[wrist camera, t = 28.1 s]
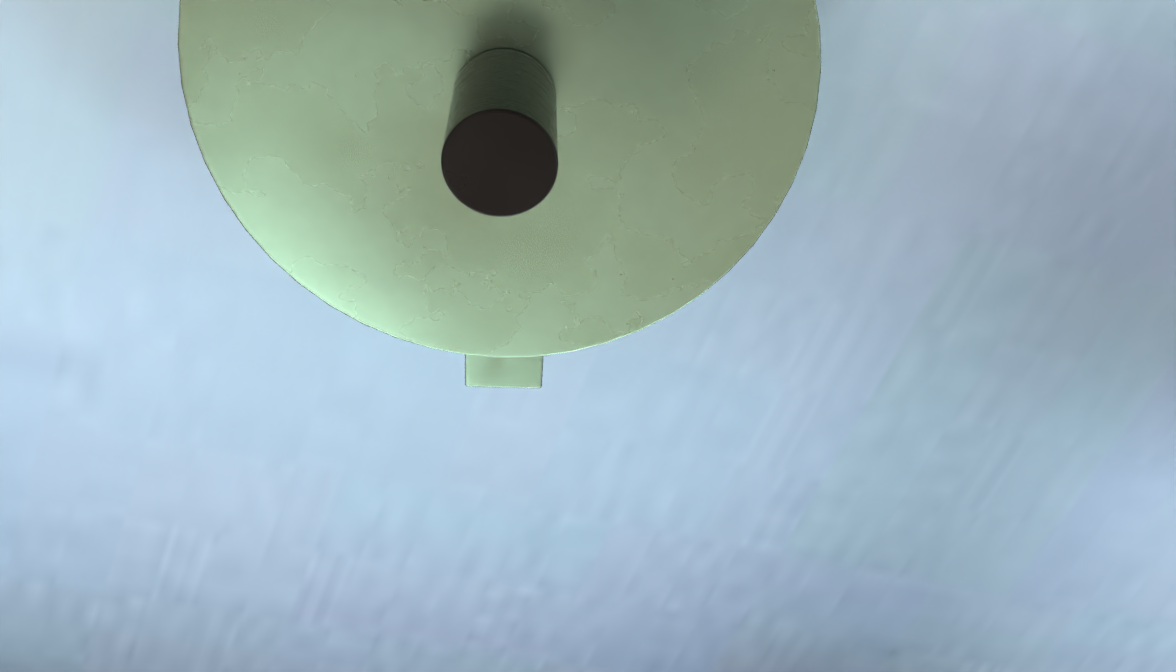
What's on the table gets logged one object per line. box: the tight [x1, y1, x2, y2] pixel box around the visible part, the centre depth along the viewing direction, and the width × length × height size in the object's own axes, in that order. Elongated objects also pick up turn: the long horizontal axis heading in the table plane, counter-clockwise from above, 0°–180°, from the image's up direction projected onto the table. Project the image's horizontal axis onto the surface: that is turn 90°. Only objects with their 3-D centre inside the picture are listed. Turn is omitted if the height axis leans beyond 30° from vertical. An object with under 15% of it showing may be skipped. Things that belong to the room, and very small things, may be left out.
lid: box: [178, 0, 821, 357], centre depth 26 cm, size 16×16×5 cm
